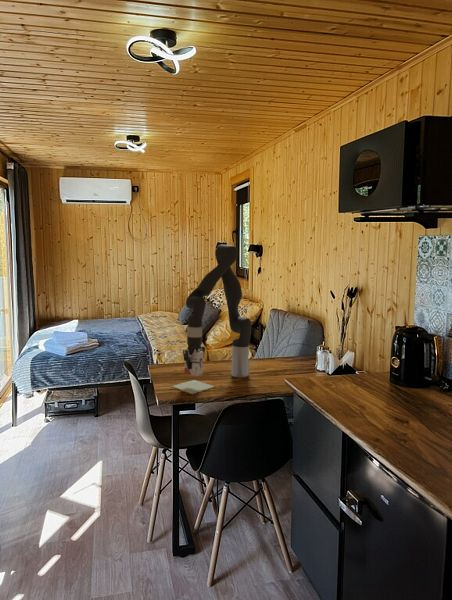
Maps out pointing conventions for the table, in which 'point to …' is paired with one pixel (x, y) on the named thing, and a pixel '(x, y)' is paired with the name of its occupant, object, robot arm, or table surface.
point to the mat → (193, 386)
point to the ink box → (195, 364)
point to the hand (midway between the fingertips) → (193, 367)
